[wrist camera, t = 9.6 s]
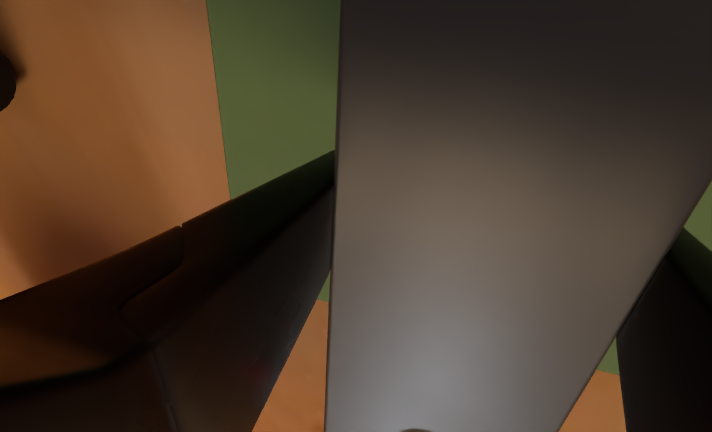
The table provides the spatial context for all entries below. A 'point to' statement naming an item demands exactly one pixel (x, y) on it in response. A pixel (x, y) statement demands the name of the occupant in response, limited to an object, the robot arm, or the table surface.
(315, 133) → the mat
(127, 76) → the table surface
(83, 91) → the table surface
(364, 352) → the remote
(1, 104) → the nameplate
